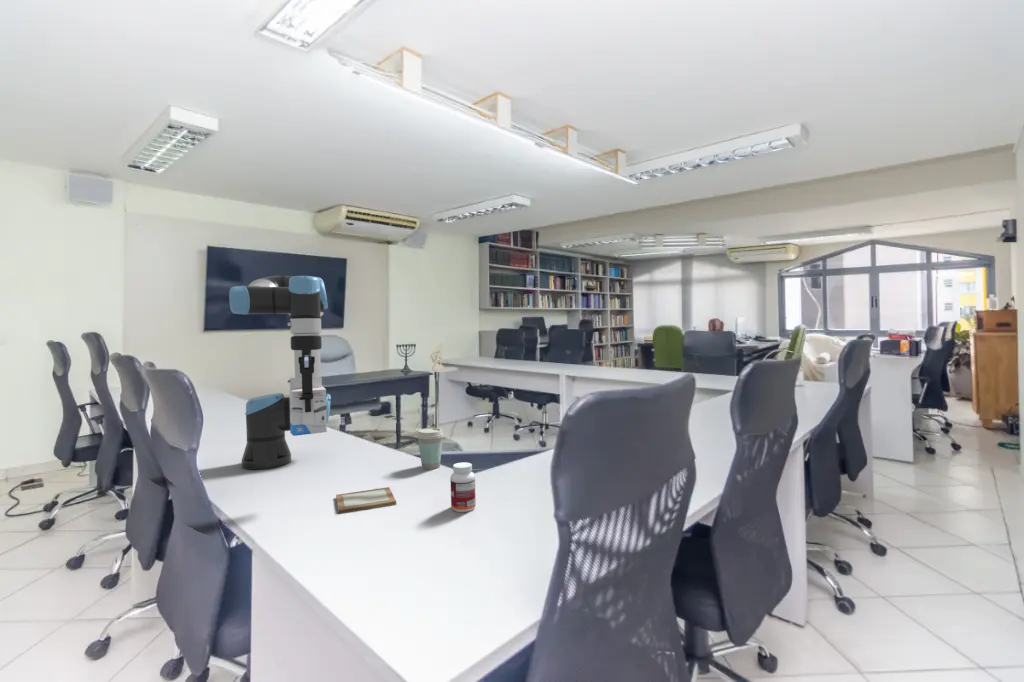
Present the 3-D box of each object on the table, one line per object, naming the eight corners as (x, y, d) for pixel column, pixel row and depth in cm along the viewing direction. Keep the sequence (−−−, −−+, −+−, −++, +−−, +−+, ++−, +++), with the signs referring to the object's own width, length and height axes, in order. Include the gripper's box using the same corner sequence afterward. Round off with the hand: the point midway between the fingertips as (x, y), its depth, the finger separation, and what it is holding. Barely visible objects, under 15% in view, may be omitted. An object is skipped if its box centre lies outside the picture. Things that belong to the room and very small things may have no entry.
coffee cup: (441, 470, 152) (441, 432, 152) (415, 470, 152) (414, 433, 152) (446, 462, 161) (445, 427, 160) (420, 463, 161) (419, 427, 160)
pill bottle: (452, 503, 123) (451, 461, 123) (476, 503, 123) (475, 461, 123) (449, 513, 117) (448, 468, 117) (474, 512, 117) (473, 468, 117)
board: (336, 497, 129) (336, 494, 129) (389, 489, 134) (389, 486, 134) (338, 513, 118) (338, 509, 118) (396, 504, 123) (396, 500, 123)
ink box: (292, 436, 123) (291, 379, 122) (290, 433, 127) (288, 378, 127) (327, 432, 127) (326, 377, 127) (323, 428, 132) (322, 375, 131)
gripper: (292, 335, 134) (294, 417, 134) (288, 335, 117) (291, 430, 117) (320, 334, 137) (323, 415, 137) (321, 334, 119) (324, 427, 120)
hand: (308, 421), depth 127 cm, fingers closed on ink box, 5 cm apart
